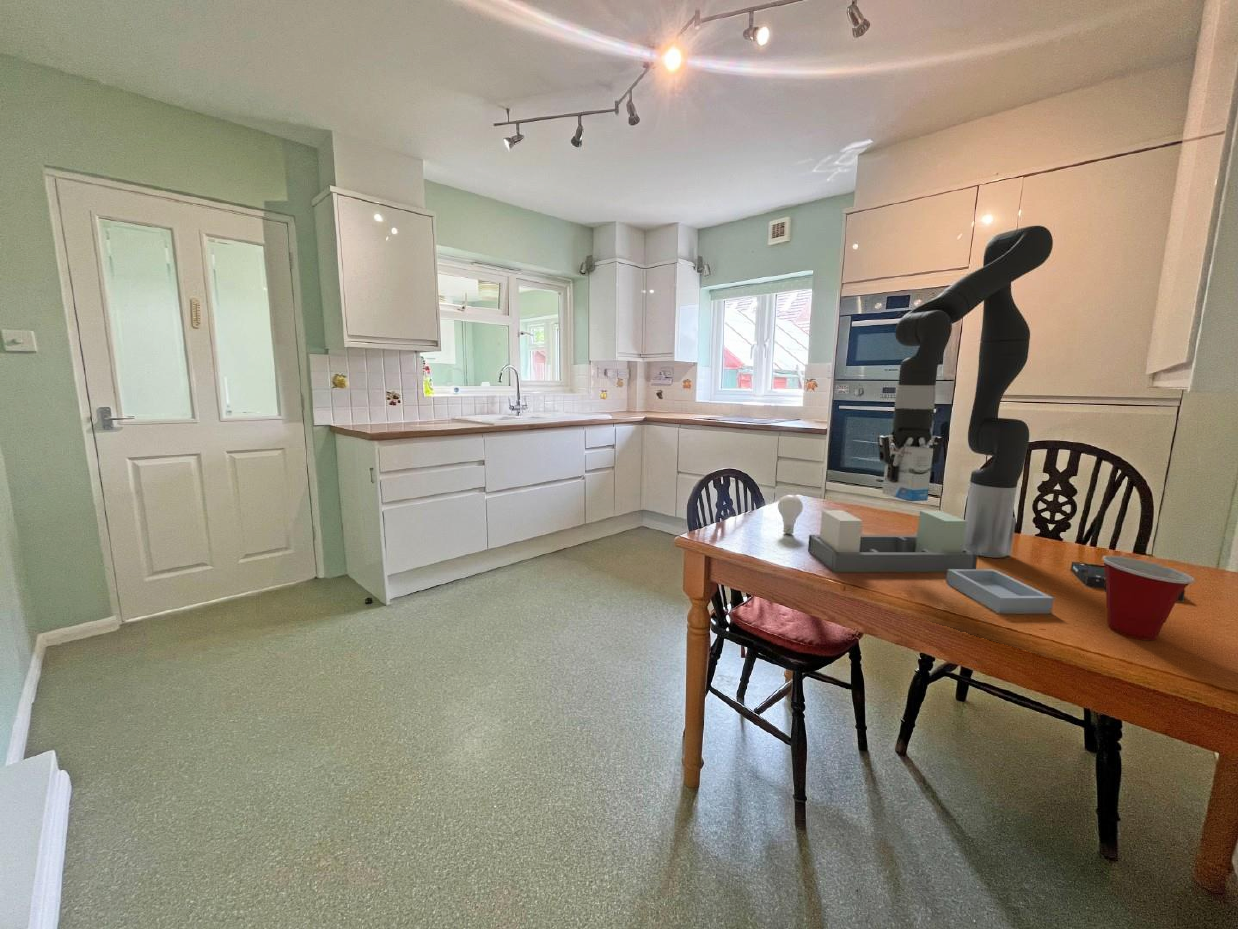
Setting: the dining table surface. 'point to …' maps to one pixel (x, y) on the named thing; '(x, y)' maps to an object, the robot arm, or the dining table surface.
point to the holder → (890, 556)
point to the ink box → (911, 474)
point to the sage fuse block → (940, 532)
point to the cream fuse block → (840, 530)
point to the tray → (999, 591)
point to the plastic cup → (1140, 595)
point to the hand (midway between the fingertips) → (905, 481)
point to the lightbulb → (789, 511)
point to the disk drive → (1096, 575)
